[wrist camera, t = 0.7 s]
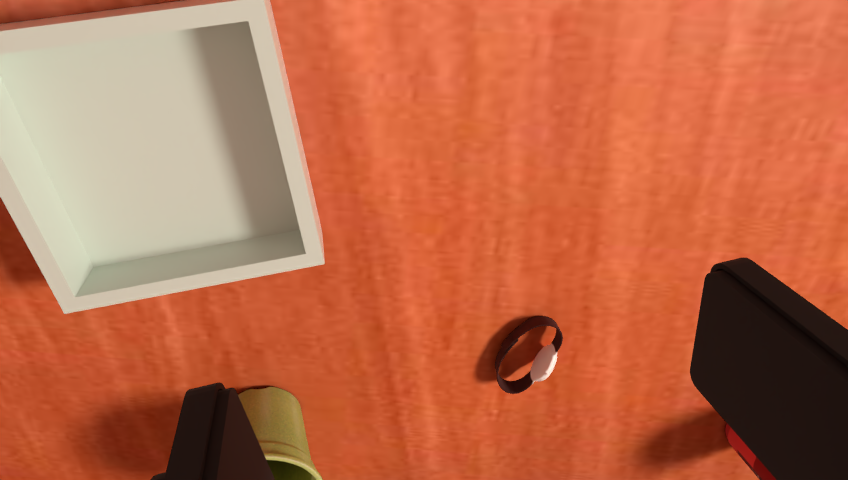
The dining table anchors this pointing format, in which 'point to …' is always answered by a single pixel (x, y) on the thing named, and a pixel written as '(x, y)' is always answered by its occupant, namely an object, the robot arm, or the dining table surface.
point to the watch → (542, 361)
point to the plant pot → (280, 432)
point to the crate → (153, 150)
